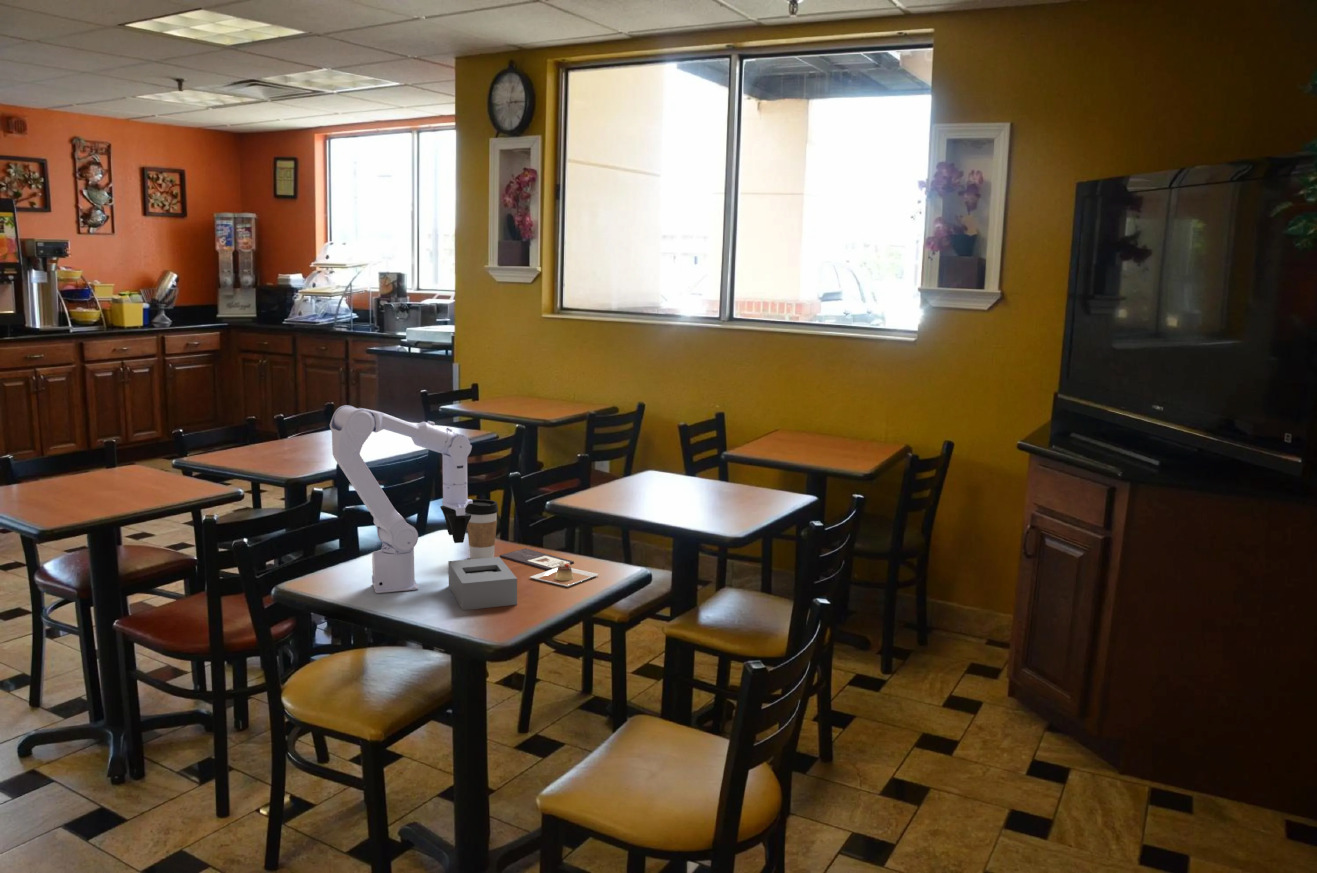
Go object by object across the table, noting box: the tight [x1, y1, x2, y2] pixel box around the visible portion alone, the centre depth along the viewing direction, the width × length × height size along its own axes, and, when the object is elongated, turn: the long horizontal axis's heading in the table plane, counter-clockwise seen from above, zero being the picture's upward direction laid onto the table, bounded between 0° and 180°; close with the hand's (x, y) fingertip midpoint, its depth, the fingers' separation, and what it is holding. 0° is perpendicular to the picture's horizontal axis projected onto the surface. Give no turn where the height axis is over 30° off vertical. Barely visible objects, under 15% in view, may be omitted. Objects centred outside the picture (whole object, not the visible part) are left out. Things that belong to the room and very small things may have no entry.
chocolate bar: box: [499, 548, 575, 571], centre depth 252 cm, size 9×1×18 cm
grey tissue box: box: [447, 556, 518, 611], centre depth 222 cm, size 12×18×6 cm, turn 21°
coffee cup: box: [465, 498, 499, 559], centre depth 251 cm, size 8×8×15 cm
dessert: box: [529, 561, 600, 588], centre depth 237 cm, size 12×12×5 cm
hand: (455, 538), depth 235 cm, fingers open, 7 cm apart
